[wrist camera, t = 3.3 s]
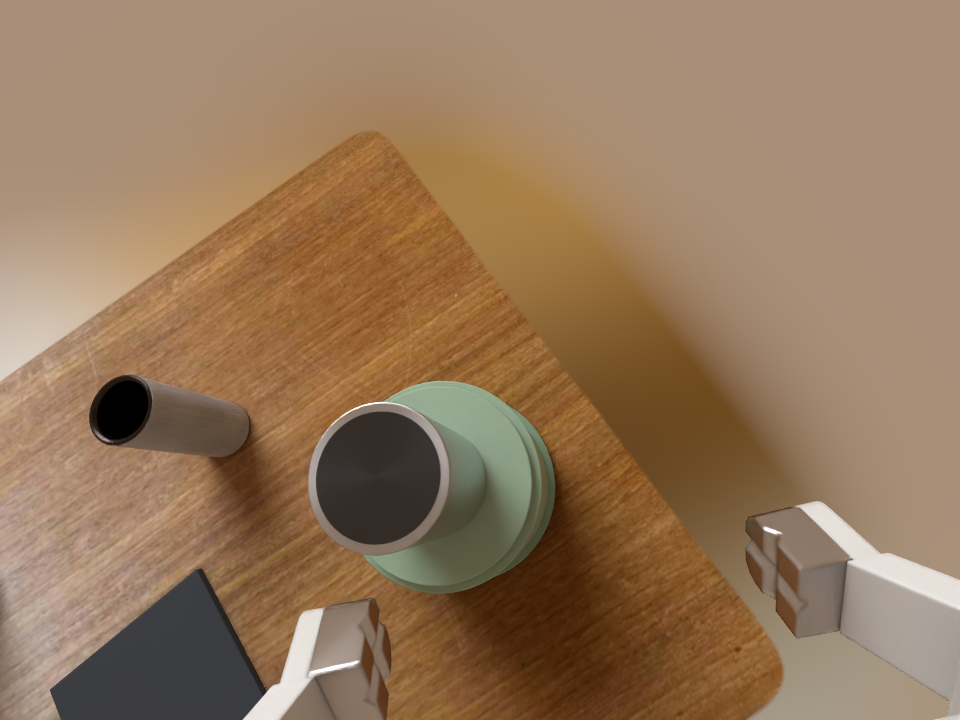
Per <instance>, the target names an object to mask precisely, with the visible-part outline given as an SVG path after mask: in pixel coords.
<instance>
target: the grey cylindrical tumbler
mask: <svg viewBox="0 0 960 720" xmlns="http://www.w3.org/2000/svg"><path fill="white" fill-rule="evenodd" d="M89 422H90V427H91V430H92V432H93V434H94V436H95V437H96V438H97V439H98V440H99V441H100V442H102V443H104V444H106V445H110V446H118V447H127V448H136V449H146V450H155V451H164V452H173V453H182V454H192V455H201V456H210V457H226V456H229V455H231V454H233V453H235V452H236V451H237V450H239V449H240V447H241V446H242V445H243V444H244V442H245V440H246V438H247V436H248V432H249V419H248V415H247V413H246V412H245V410H244V409H243V408H242V407H241V406H240V405H238V404H236V403H233V402H230V401H226V400H223V399H219V398H216V397H212V396H208V395H205V394H201V393H197V392H194V391H190V390H187V389H183V388H179V387H176V386H172V385H168V384H165V383H161V382H157V381H154V380H150V379H147V378H143V377H139V376H135V375H122V376H118V377H116V378H114V379H112V380H110V381H109V382H107V383H106V384H105V385H104V386H103V387H102V388H101V389H100V390H99V391H98V393H97V394H96V396H95V398H94V400H93V402H92V405H91V408H90V413H89Z"/></svg>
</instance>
